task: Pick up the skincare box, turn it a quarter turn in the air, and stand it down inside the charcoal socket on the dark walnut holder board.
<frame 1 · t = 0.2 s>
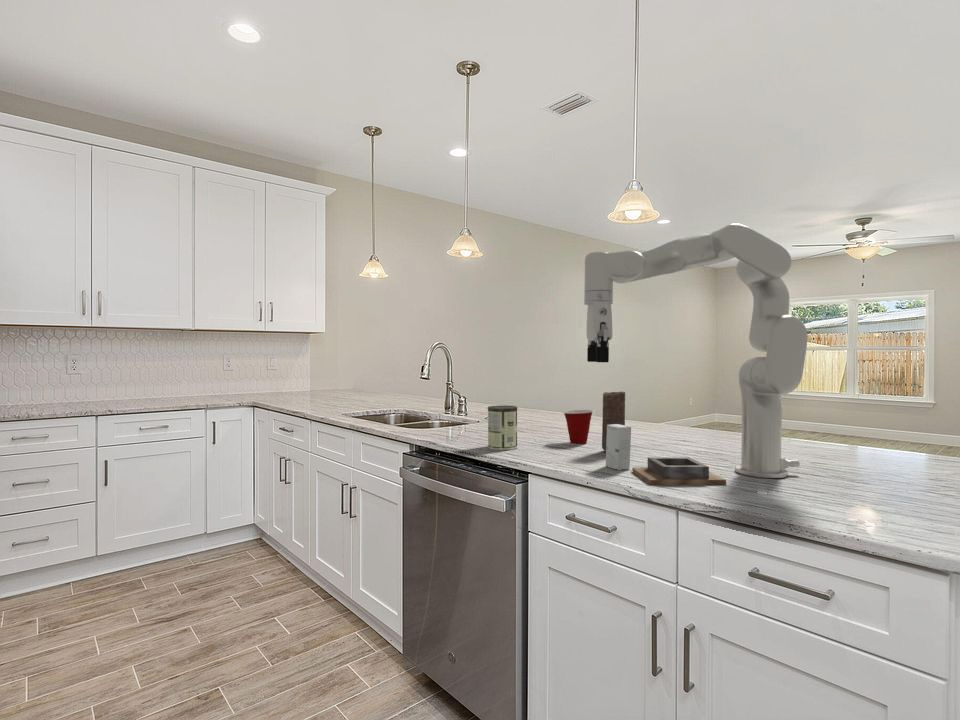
hand: (597, 362, 140), 30 cm above the worktop, tool pointing down, fingers open, 9 cm apart
holder: (676, 477, 135), on the worktop
plastic cup: (577, 443, 187), on the worktop
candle: (613, 453, 170), on the worktop
skincare box: (618, 468, 146), on the worktop
coffee can: (502, 448, 178), on the worktop
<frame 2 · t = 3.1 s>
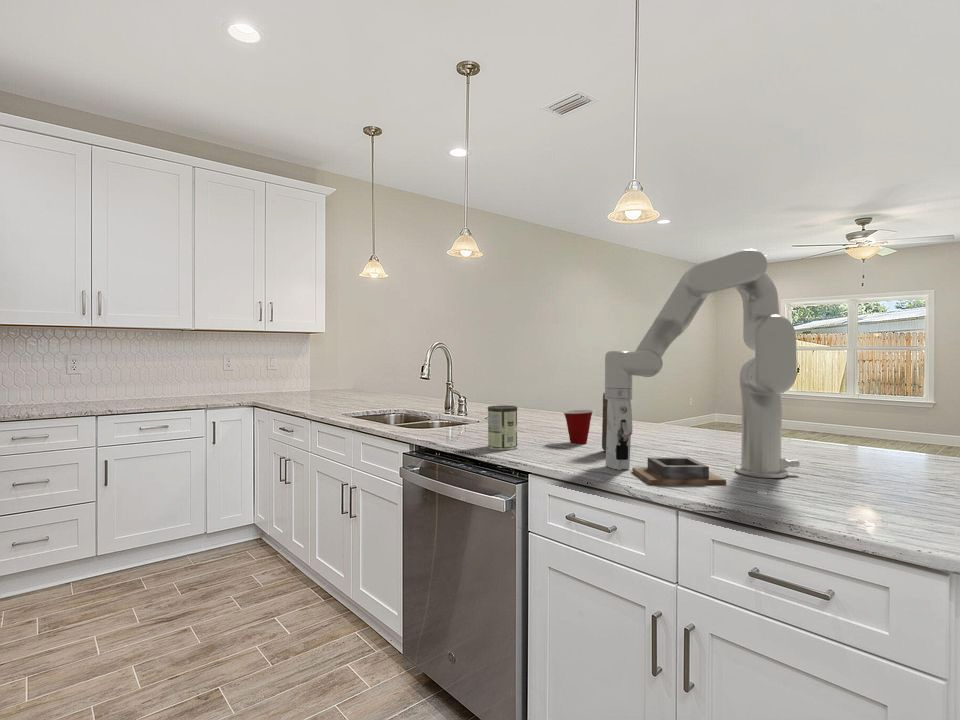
hand: (618, 456, 146), 3 cm above the worktop, tool pointing down, fingers closed on skincare box, 7 cm apart
skincare box: (618, 468, 146), on the worktop, touching gripper
everything else where it was.
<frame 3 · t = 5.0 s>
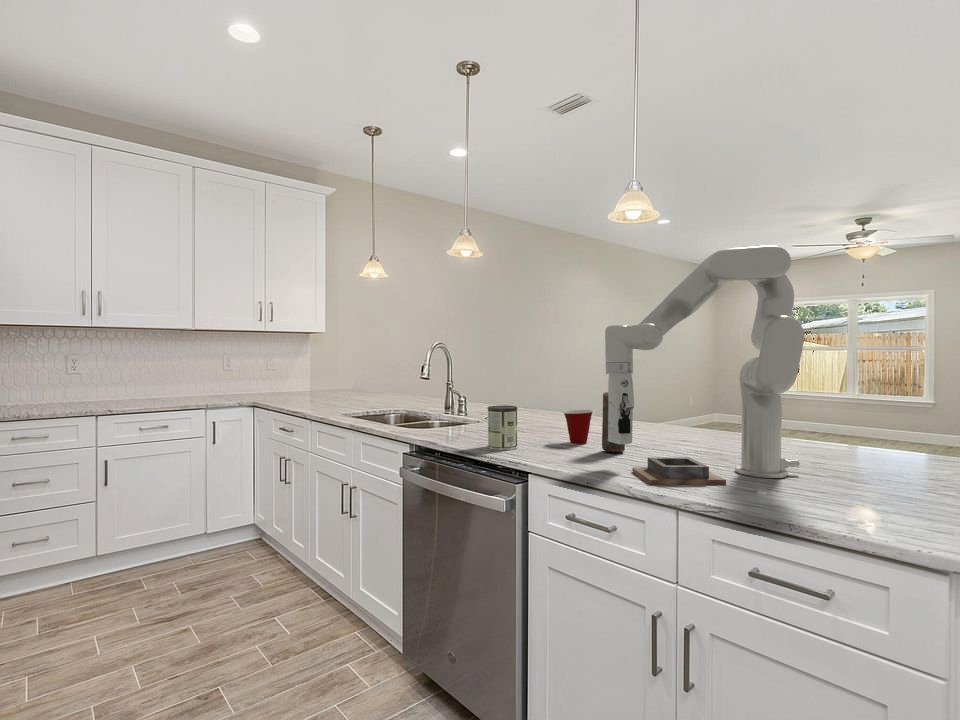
hand: (620, 430, 146), 11 cm above the worktop, tool pointing down, fingers closed on skincare box, 7 cm apart
skincare box: (620, 443, 146), point 7 cm above the worktop, touching gripper
everything else where it was.
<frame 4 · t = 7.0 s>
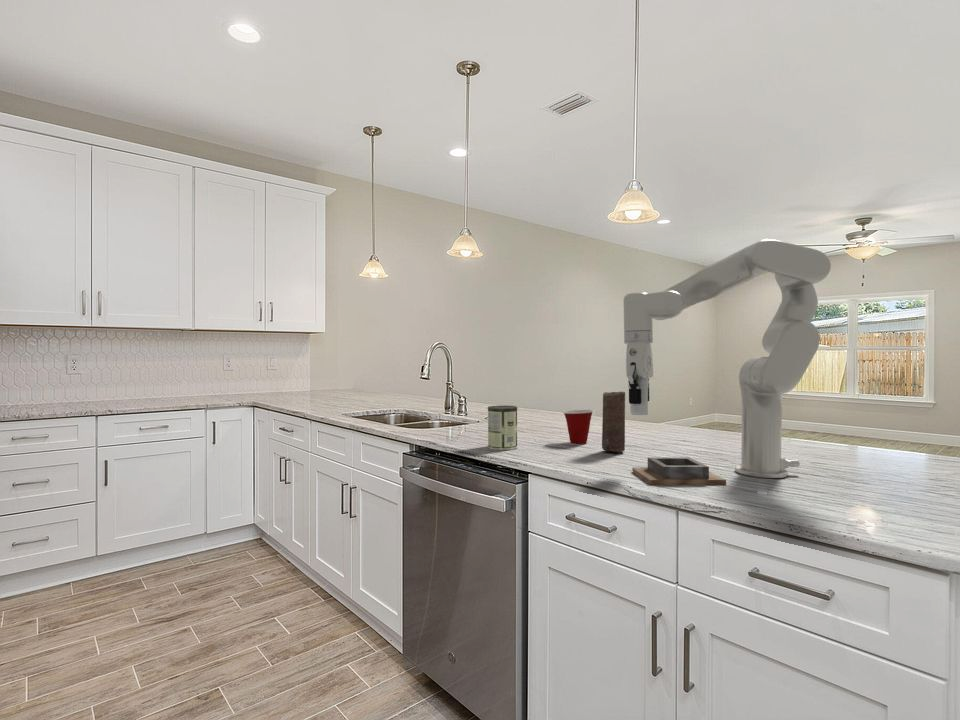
hand: (639, 402, 142), 19 cm above the worktop, tool pointing down, fingers closed on skincare box, 7 cm apart
skincare box: (639, 414, 142), point 16 cm above the worktop, touching gripper
everything else where it was.
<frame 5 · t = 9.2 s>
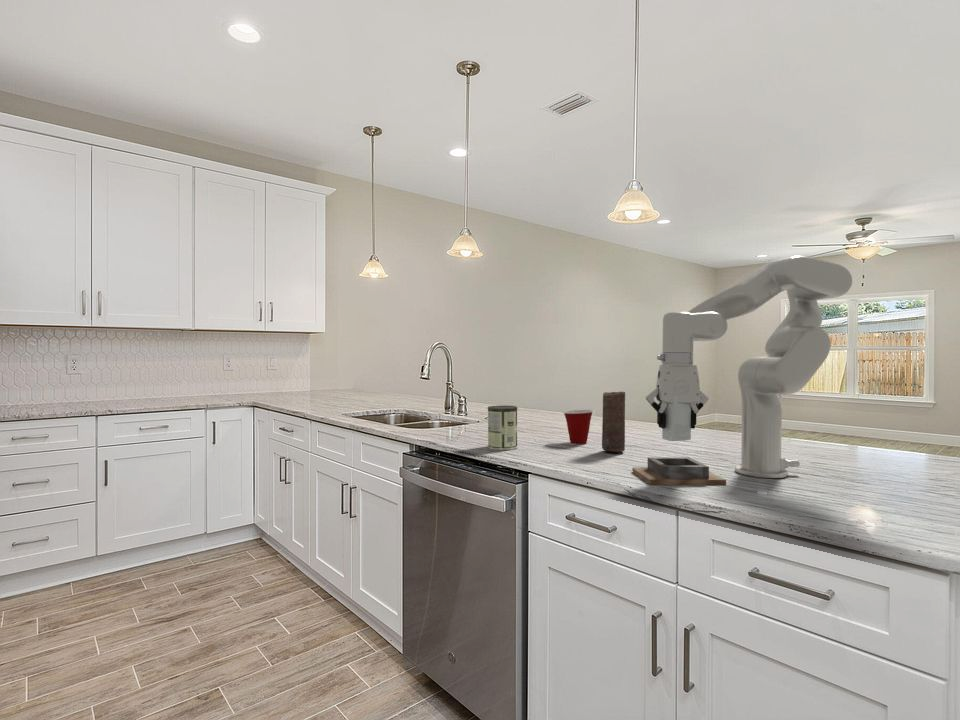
hand: (676, 427, 134), 13 cm above the worktop, tool pointing down, fingers closed on skincare box, 7 cm apart
skincare box: (676, 440, 134), point 10 cm above the worktop, touching gripper
everything else where it was.
when the fingers open (5 cm above the worktop, at t = 11.2 s): skincare box stays where it is, resting on holder.
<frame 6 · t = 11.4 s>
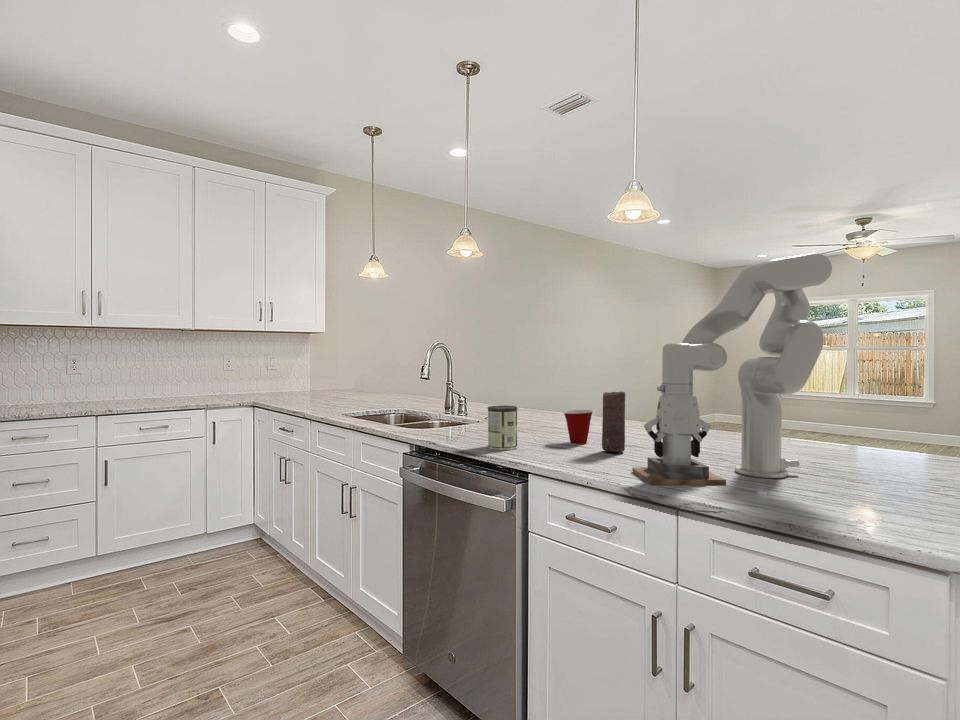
hand: (677, 456, 135), 6 cm above the worktop, tool pointing down, fingers open, 9 cm apart
skincare box: (676, 474, 135), point 1 cm above the worktop, touching holder
everything else where it was.
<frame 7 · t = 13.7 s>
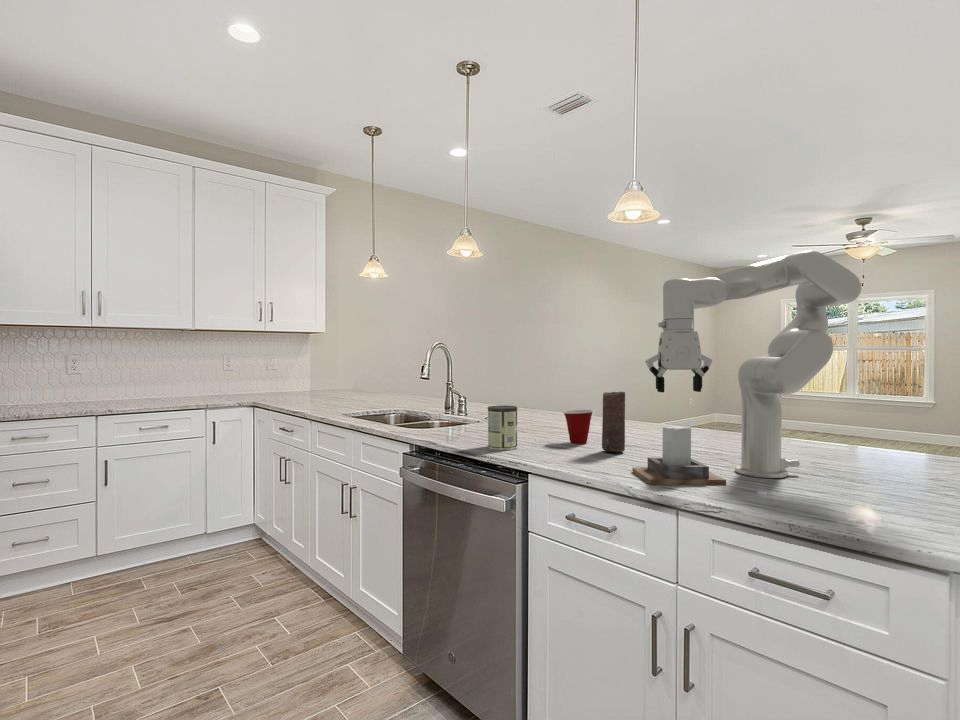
hand: (678, 391, 135), 22 cm above the worktop, tool pointing down, fingers open, 9 cm apart
nothing on the worktop moved.
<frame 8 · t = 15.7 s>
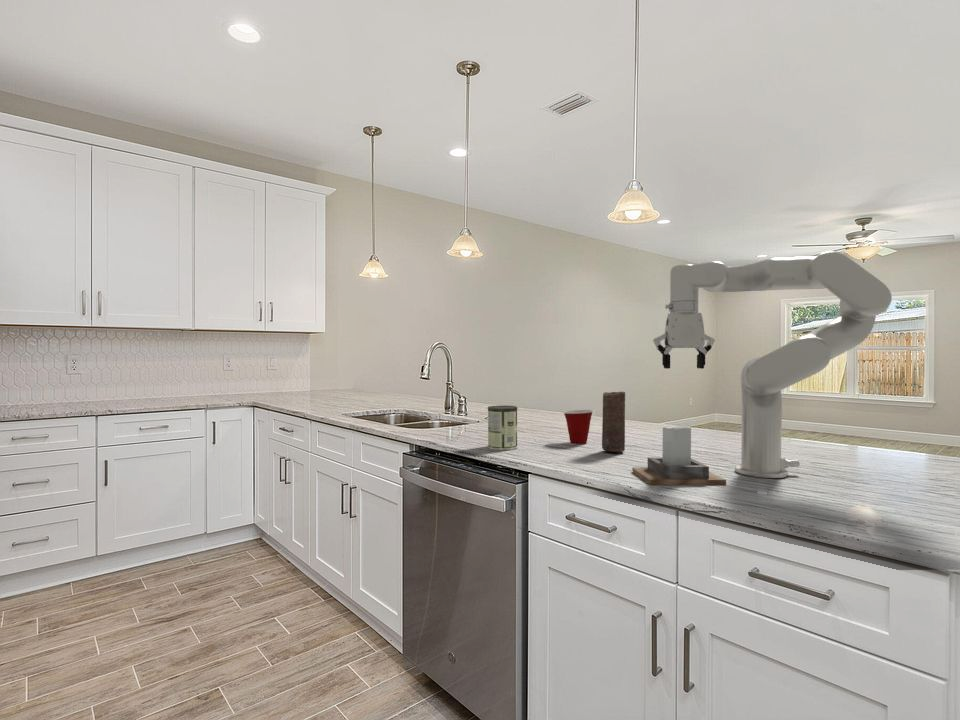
hand: (683, 368, 147), 28 cm above the worktop, tool pointing down, fingers open, 9 cm apart
nothing on the worktop moved.
at the end: skincare box 0.1 cm off-centre on the holder, point 1.0 cm above the holder's base; skincare box tilted 0°; the gripper is holding nothing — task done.
